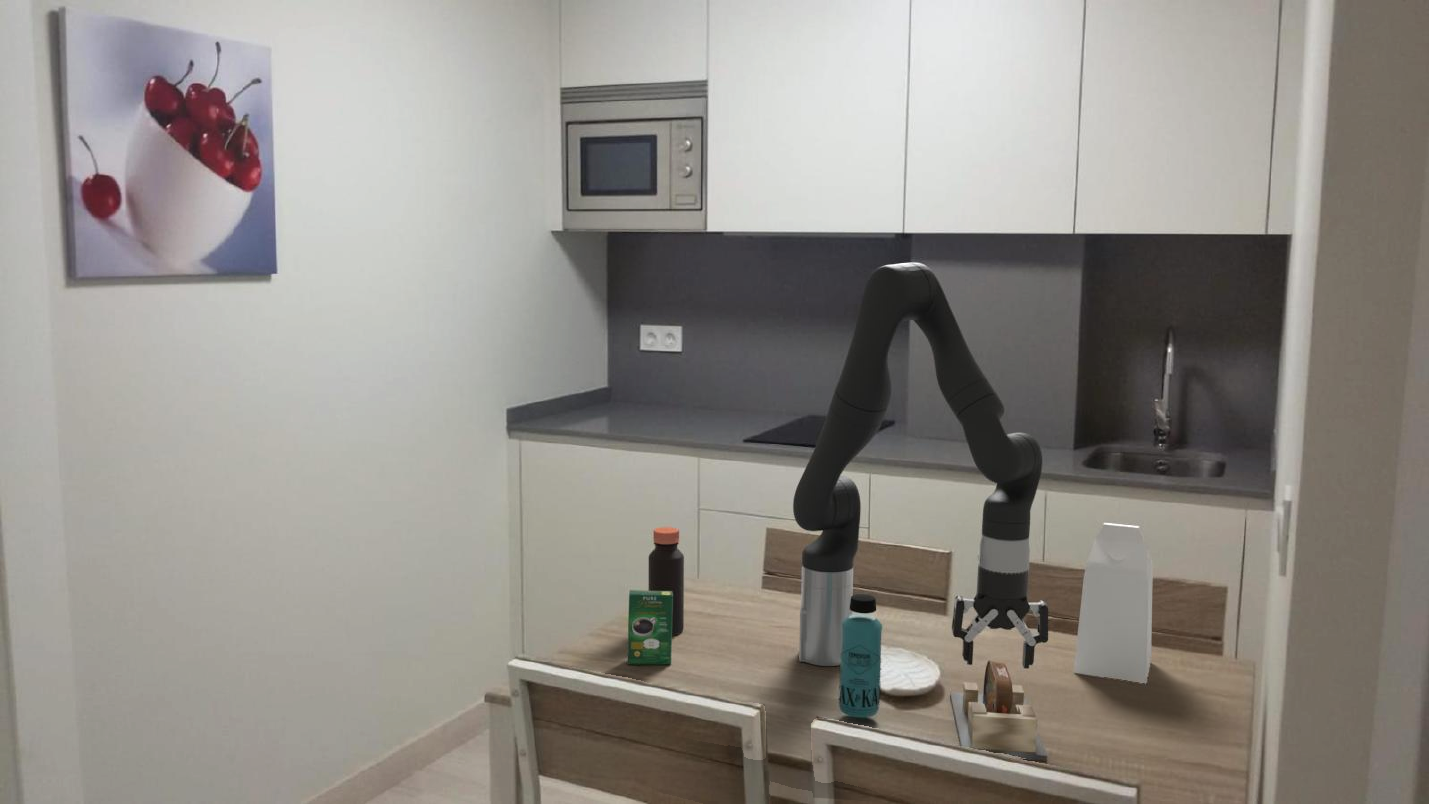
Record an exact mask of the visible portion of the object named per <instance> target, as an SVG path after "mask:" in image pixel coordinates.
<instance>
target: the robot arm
mask: <svg viewBox="0 0 1429 804" xmlns="http://www.w3.org/2000/svg"><path fill="white" fill-rule="evenodd" d="M906 321H914V323H915V324H916V325H917V327H919V329H920V330H921V331H922V333H923V335H924V336H925V338H926V339H927V341H928V343H929V345H930V349H931V351H932V355H933V361H934V369H935V375H936V376H935V377H936V380H937V381H936V382H937V384H938V388H939V389H940V392H941V394H942V396H943V399H944V400H945V402H946V403H947V404H948V407H949V408H950V409H951V411H952V412H953V414H954V416H955V418H956V419H957V420H958V422H959V423H960V425H961V426H962V429H963V433H964V436H965V440H966V443H967V445H968V448H969V451H970V454H971V456H972V459H973V462H974V464H975V466H976V467H977V469H978V470H979V472H980V473H981V474H982V475H983V477H985V478H986V479H987V480H989V481H990V482H992V483H994V484H996V486H995V489H994V491H993V492H992V494H990V495H989V496H988V497H987V498H986V499H985V501H984V504H983V509H982V521H981V536H980V540H979V547H978V554H977V560H978V563H977V577H976V579H977V580H976V593H975V597H974V598H973V599H972V598H965V597H964V598H963V596H962V595H960V594H959V595H956V596H954V597H955V598H954V605H953V606H954V607H953V614H952V622H951V632H952V635H953V637H954V638H959V639H961V640H962V651H961V652H962V658H963V661H966V664H967V665H968V666H972V665H973V661H974V659H973V658H974V657H973V656H974V639H975V638H976V637H977V636H978V635H979V634H980V633H982V632H983V631H984V630H985V628H986V627H988V628H989V629H990V630H991V629H992V630H997V629H1003V630H1007V631H1012V629H1014V628H1016V629H1017V631H1018V633H1020V635H1021V636H1022V637H1023V639H1024V640H1025V641H1023V646H1022V658H1021V659H1022V666H1023V669H1030V666H1033V664H1034V662H1035V647H1036V645H1037V644H1041V643H1043V644H1047V642H1048V641H1049V607H1048V604H1047V603H1046V601H1045V600H1043V599H1041V600H1038V602H1037V601H1036V602H1029V600H1028V590H1029V589H1028V586H1029V570H1030V559H1031V558H1030V557H1031V547H1030V529H1031V510H1032V505H1033V503H1034V501H1035V497H1036V494H1037V490H1038V488H1039V487H1038V486H1039V482H1040V479H1041V475H1042V471H1043V453H1042V449H1041V447H1040V445H1039V442H1038V441H1037V440H1036V439H1035V438H1034V437H1033V436H1032V435H1031V434H1029V433H1027V432H1026V433H1025V432H1012V433H1008V434H1007V433H1006V432H1005V429H1004V427H1003V425H1002V422H1001V419H1002V418H1003V416H1004V414H1005V406H1004V404H1003V402H1002V400H1001V398H1000V397H999V395H998V394H997V392H996V391H995V389H994V388H993V386H992V384H991V383H990V381H989V380H988V378H987V377H986V375H985V374H984V372H983V371H982V369H981V367H980V365H979V364H978V362H977V360H976V359H975V358H974V356H973V354H972V351H971V350H970V348H969V346H968V344H967V341H966V340H965V337H964V334H963V333H962V330H961V328H960V326H959V324H958V322H957V320H956V317H955V315H954V313H953V311H952V308H951V306H950V303H949V301H948V299H947V296H946V294H945V292H944V289H943V287H942V285H941V283H940V281H939V280H938V278H937V276H936V274H935V273H934V272H933V270H932V269H931V268H930V266H929V267H928V266H927V265H925V264H923V263H921V262H903V263H894V264H886V265H882V266H880V267H877V268H876V269H875V270H873V272H871V273H870V275H869V277H868V279H867V280H866V283H865V286H864V288H863V292H862V295H861V300H860V304H859V308H858V312H857V318H856V322H855V327H854V330H853V335H852V338H851V342H850V345H849V349H848V352H847V355H846V358H845V361H844V364H843V367H842V371H841V374H840V375H839V378H838V380H837V381H838V382H837V384H836V386H835V389H834V392H833V395H832V398H831V401H830V405H829V407H828V411H827V415H826V416H825V419H824V420H825V421H824V424H823V426H822V429H821V432H820V433H819V437H818V439H817V441H816V444H815V447H814V450H813V452H812V454H811V457H810V458H809V461H808V463H807V464H806V466H805V469H804V471H803V473H802V474H801V478H800V479H799V480H798V484H797V487H796V489H795V492H794V495H793V502H792V503H793V504H792V509H793V511H792V512H793V517H794V520H795V522H796V524H797V525H798V527H800V528H801V529H803V530H804V531H808V532H818V531H819V532H820V531H821V533H820V535H819V536H818V537H817V538H816V539H815V540H814V541H812V542H811V543H810V544H808V545H806V546H805V547H804V549H803V550H802V555H801V588H800V589H801V591H800V594H801V595H800V596H801V597H800V611H799V613H800V614H799V650H798V651H799V652H798V653H799V658H798V659H799V660H798V661H799V662H802V663H807V664H811V665H813V666H814V665H815V666H821V667H835V666H837V667H838V666H841V658H840V657H841V656H840V655H841V649H842V622H843V621H844V620H845V619H846V618H847V617H849V616H850V615H852V614H853V611H851V610H850V601H851V596H853V595H854V594H853V592H854V591H853V588H854V587H853V585H854V581H853V580H854V561H855V556H856V555H857V551H858V548H859V547H858V546H859V538H860V537H859V536H860V525H861V524H860V523H861V514H862V513H861V511H862V508H861V506H862V505H861V496H860V493H859V489H858V486H857V485H856V483H855V482H854V481H853V480H852V479H851V478H849V477H848V476H845V475H842V473H843V472H844V470H845V469H846V468H847V466H848V465H849V464H850V462H852V460H853V459H855V457H856V456H857V455H858V454H860V453H861V451H862V450H863V449H864V448H865V447H866V446H867V445H868V444H869V443H870V441H872V440H873V439H874V437H875V436H876V435H877V433H878V431H879V430H880V428H881V426H882V423H883V421H884V417H885V416H886V412H887V410H888V407H889V405H890V401H891V398H892V381H891V375H890V369H889V365H888V363H889V362H888V360H889V359H888V358H889V357H888V356H889V351H890V348H891V345H892V342H893V339H894V336H895V334H896V332H897V330H898V328H899V326H900V324H901V323H902V322H906ZM971 608H973V609H974V611H975V612H976V613H977V614H976V616H975V617H973V618H972V619H971V621H970V623H969V624H968V625H967V627H965V628H963V621H964V614H966V613H968V612H969V610H970V609H971ZM1030 611H1031V612H1032V613H1033V615H1034V616H1035V617H1036V619H1037V623H1036V624H1037V631H1036V632H1033V633H1032V632H1031V630H1030V629H1029V627H1028V626H1027V624H1026V623H1025V622H1024V620H1023V619H1024V618H1025V617H1026V616H1027V614H1028V613H1029V612H1030Z"/></svg>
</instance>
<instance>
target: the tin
mask: <svg viewBox="0 0 1429 804" xmlns="http://www.w3.org/2000/svg"><path fill="white" fill-rule="evenodd" d="M1012 685H1013V682H1012V679H1011V676H1010V673H1009V670H1008V667H1007V665H1006V663H1004V662H999V661H992V660H988V661H987V662H986V666H985V672H984V679H983V693H982V694H983V704H984V705H985V708H986V712H988V713H1005V714H1010V712H1011V707H1012V701H1013V689H1012Z"/></svg>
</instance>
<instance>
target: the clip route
mask: <svg viewBox="0 0 1429 804" xmlns="http://www.w3.org/2000/svg"><path fill="white" fill-rule="evenodd" d="M962 689H963V690H962V692H951V691H950V692H949V698H950V702H951V707H952V708H951V709H952V711H953V716H954V717H953V718H954V721H955V726H956V731H957V736H958V740H960V741H959V745H961V746H964V747H969V748H973V749H978V750H986V751H989V752H993V753H1004V754H1009V755H1012V756H1018V757H1021V758H1026V759H1028V760H1027V761H1041V762H1044V761H1045V762H1047V761H1048V755H1047V752H1046V749H1045V746H1044V743H1043V741H1042V740H1041V736H1040V734H1039V731H1038V728H1037V727H1038V717H1037V716H1036V713H1035V710H1034V709H1033V706H1030V705H1029V704H1028V702H1027V700H1026V697H1025V691H1024V689H1023V686H1022V685H1020V684H1019V685H1018V684H1012V689H1013V701H1012V707H1011V712H1010V714H1005V713H988V712H986V708H985V705H984V704H983V693H979V687H978V684H977V682H966V681H965V682H964V681H963V687H962ZM961 746H960V747H961Z"/></svg>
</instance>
